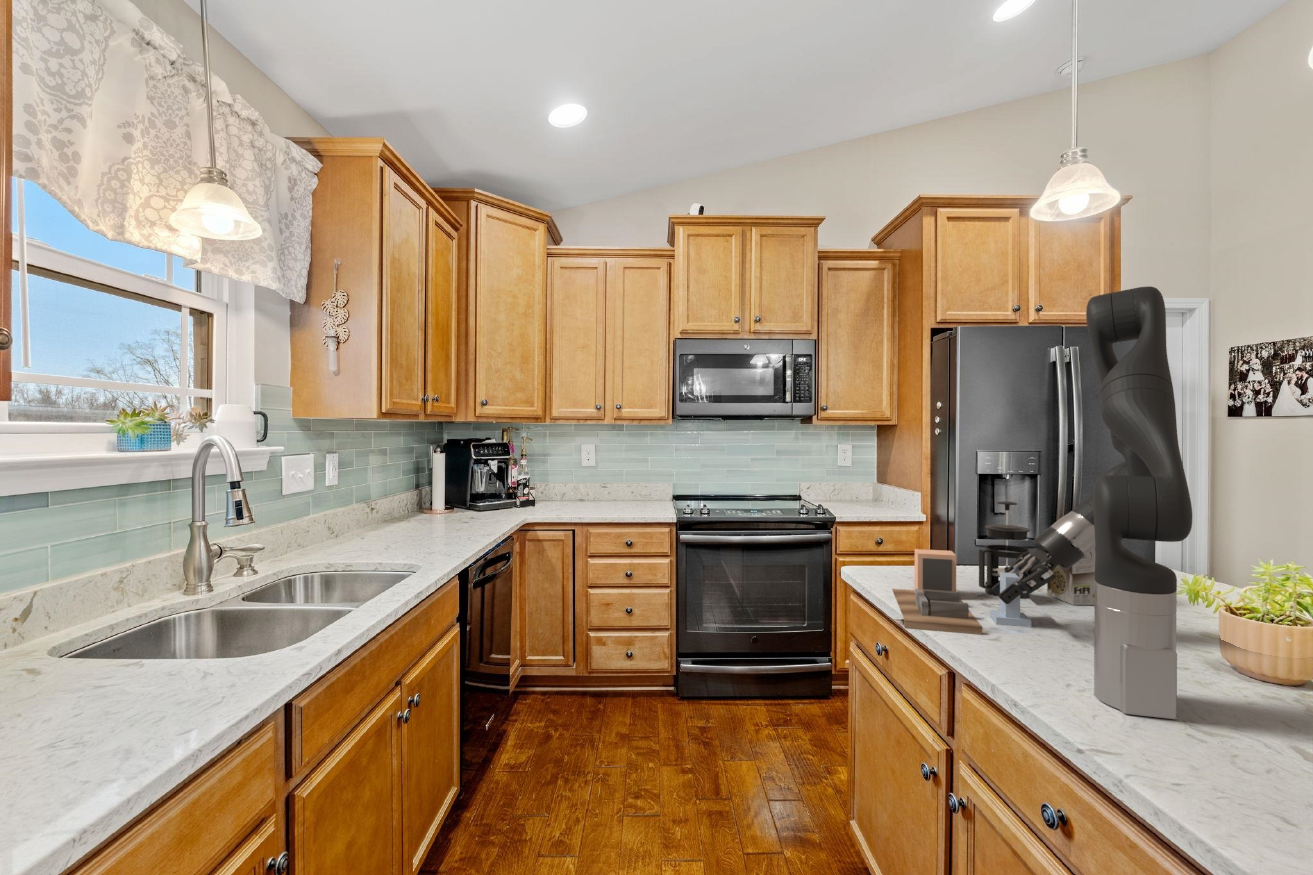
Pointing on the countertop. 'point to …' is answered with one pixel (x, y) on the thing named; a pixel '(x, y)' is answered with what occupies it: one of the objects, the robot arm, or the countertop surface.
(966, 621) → the rail
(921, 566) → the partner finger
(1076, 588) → the coffee box
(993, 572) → the french press
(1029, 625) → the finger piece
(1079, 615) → the countertop surface
